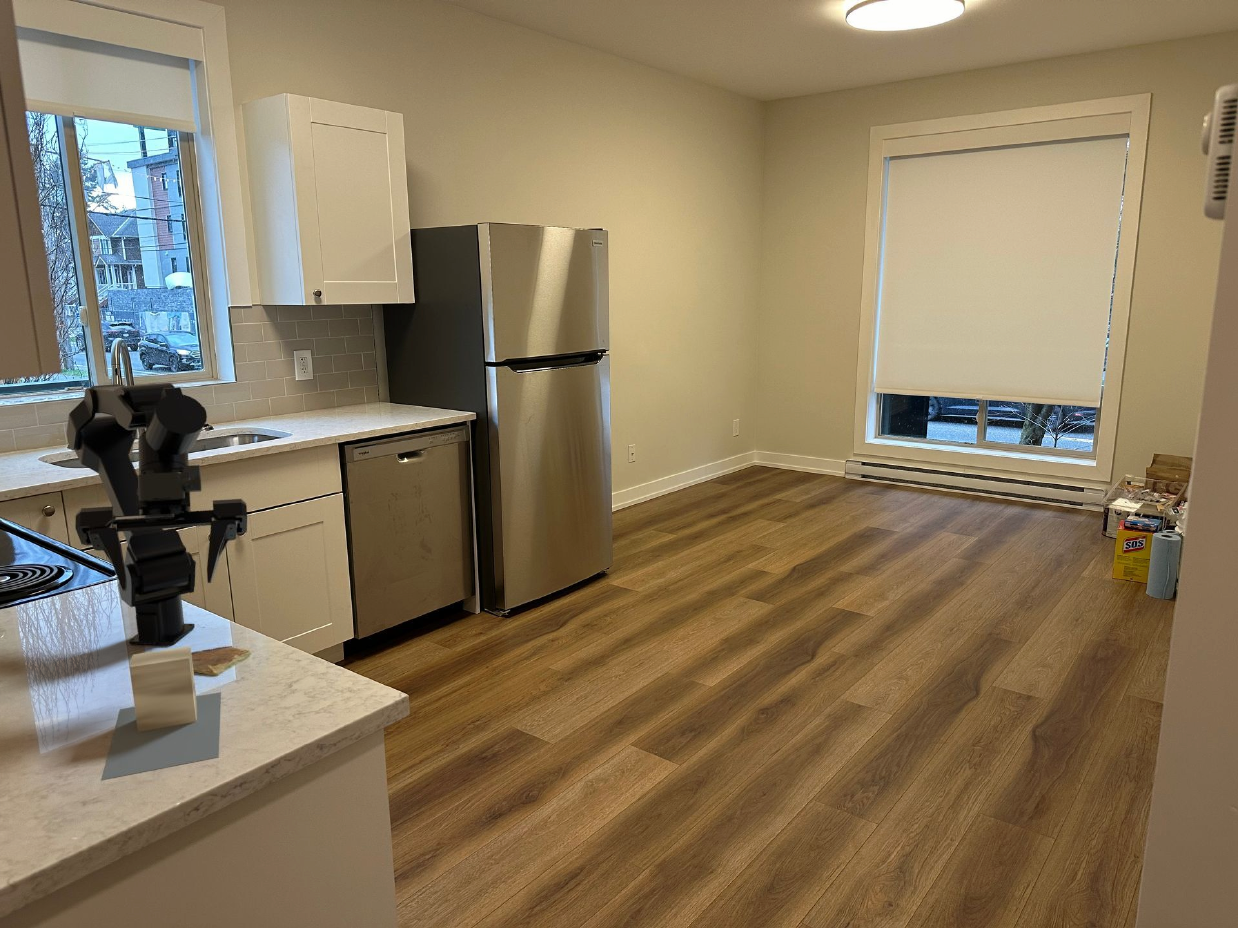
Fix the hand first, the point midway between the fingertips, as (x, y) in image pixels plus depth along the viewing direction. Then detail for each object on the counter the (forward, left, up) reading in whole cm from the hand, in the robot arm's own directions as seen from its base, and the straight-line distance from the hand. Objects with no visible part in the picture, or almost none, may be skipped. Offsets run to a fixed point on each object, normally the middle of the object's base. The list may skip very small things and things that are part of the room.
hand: (167, 585), depth 105 cm
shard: (-7, 0, -15) cm, 17 cm away
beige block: (+7, +2, -14) cm, 16 cm away
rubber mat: (+10, +4, -14) cm, 18 cm away
